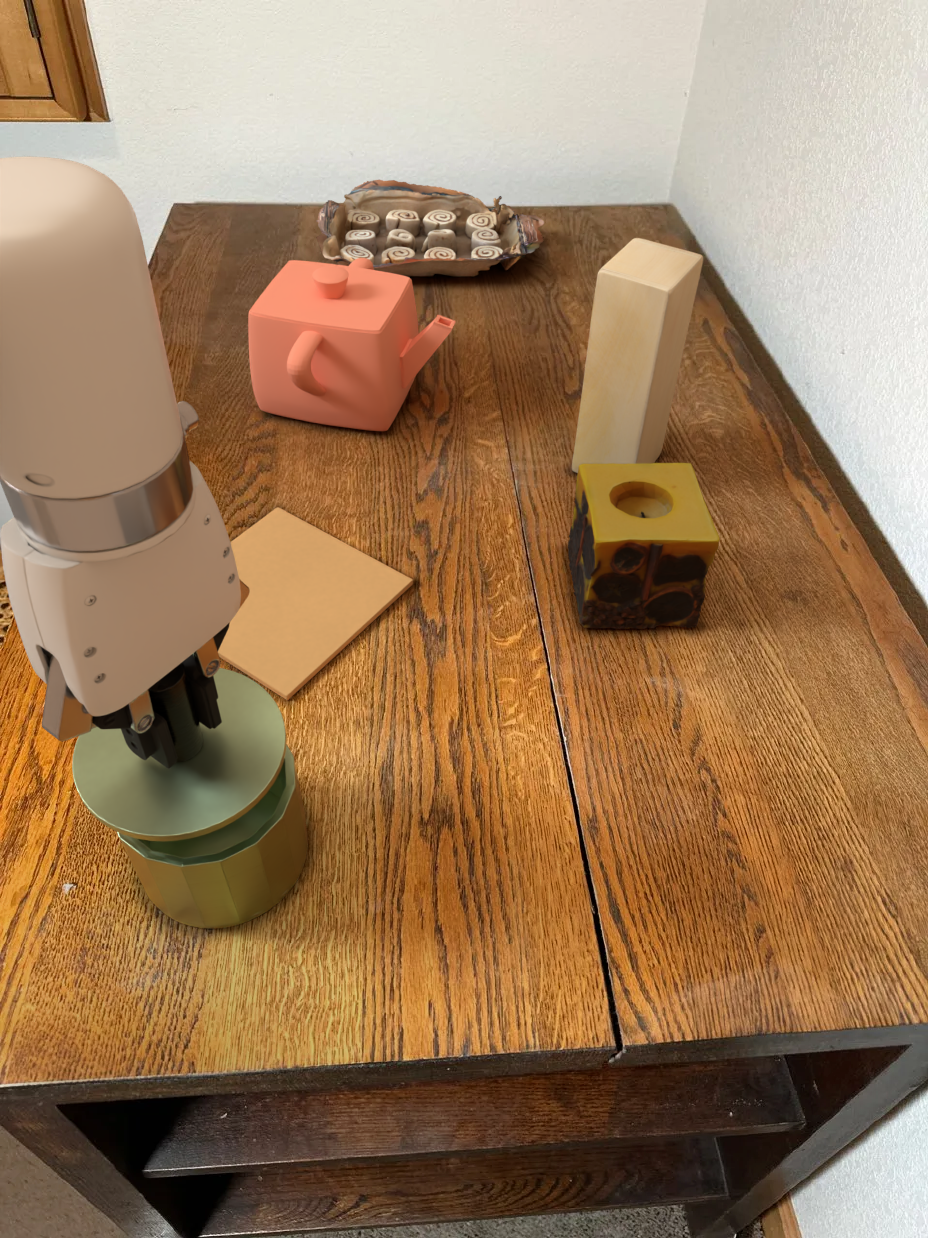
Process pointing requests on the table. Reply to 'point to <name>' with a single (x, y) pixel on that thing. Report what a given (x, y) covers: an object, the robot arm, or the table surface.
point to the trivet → (301, 600)
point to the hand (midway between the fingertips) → (177, 731)
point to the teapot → (338, 344)
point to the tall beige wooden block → (635, 352)
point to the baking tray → (424, 230)
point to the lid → (185, 763)
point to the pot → (229, 861)
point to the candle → (640, 545)
